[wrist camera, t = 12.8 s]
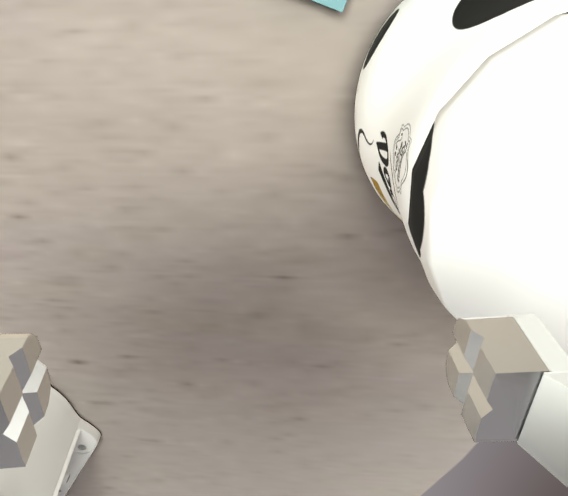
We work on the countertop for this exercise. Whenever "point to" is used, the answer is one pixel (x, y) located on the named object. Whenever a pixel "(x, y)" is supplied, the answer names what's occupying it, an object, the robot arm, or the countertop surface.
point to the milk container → (475, 149)
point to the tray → (333, 4)
